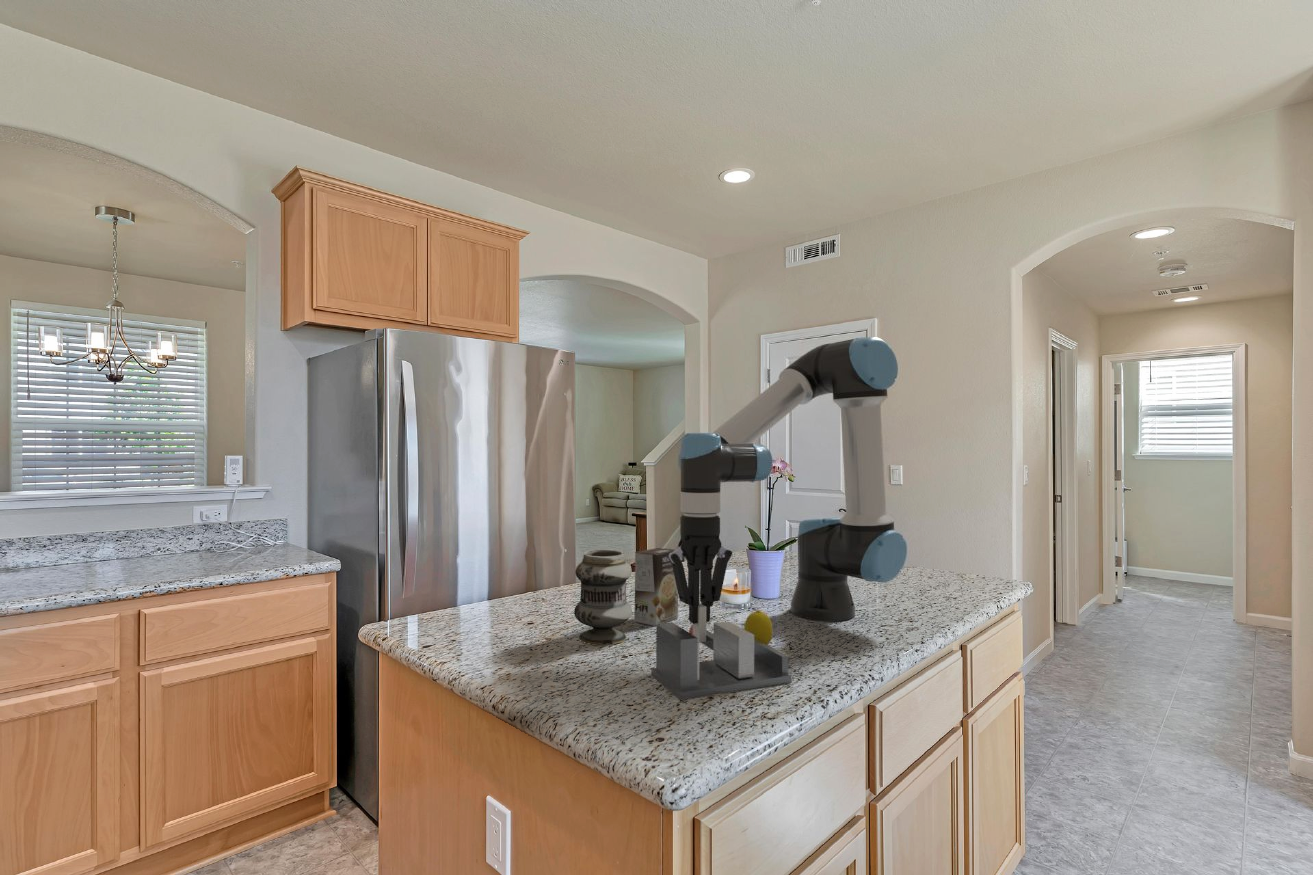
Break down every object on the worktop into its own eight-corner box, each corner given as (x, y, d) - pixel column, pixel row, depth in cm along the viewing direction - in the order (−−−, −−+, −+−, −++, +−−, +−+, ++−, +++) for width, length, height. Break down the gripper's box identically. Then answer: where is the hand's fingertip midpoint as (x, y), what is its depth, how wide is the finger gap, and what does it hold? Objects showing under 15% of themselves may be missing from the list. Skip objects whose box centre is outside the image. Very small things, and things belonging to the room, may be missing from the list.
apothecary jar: (583, 650, 127) (584, 558, 127) (567, 633, 138) (567, 549, 138) (640, 643, 132) (641, 554, 132) (620, 627, 143) (620, 546, 143)
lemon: (755, 644, 132) (755, 605, 132) (778, 650, 128) (778, 610, 128) (738, 650, 128) (738, 609, 128) (761, 656, 124) (761, 615, 124)
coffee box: (656, 626, 144) (656, 554, 144) (633, 622, 148) (634, 551, 148) (679, 618, 151) (679, 549, 152) (656, 613, 155) (657, 546, 155)
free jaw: (699, 642, 128) (699, 606, 128) (754, 676, 109) (754, 634, 109) (686, 643, 127) (686, 608, 127) (738, 678, 108) (738, 636, 108)
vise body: (754, 660, 121) (754, 611, 122) (791, 682, 110) (791, 628, 111) (651, 675, 113) (651, 622, 113) (680, 700, 102) (680, 641, 102)
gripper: (721, 511, 128) (720, 630, 127) (660, 513, 123) (659, 638, 122) (740, 515, 121) (739, 641, 121) (677, 517, 116) (676, 649, 115)
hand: (699, 639), depth 121 cm, fingers closed
